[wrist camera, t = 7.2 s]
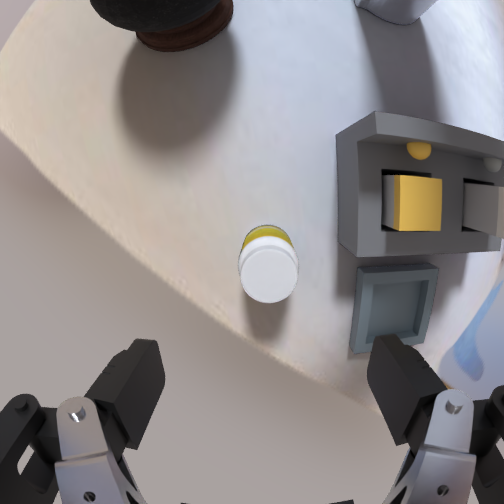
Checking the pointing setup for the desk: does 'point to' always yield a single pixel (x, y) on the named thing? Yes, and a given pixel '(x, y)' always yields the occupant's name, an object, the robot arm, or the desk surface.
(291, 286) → the supplement bottle
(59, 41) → the desk surface
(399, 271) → the square tray
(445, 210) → the box
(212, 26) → the spherical smart speaker
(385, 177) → the block
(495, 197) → the block
